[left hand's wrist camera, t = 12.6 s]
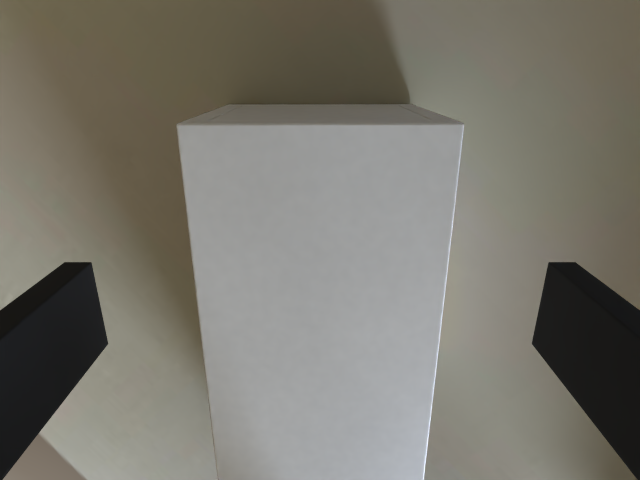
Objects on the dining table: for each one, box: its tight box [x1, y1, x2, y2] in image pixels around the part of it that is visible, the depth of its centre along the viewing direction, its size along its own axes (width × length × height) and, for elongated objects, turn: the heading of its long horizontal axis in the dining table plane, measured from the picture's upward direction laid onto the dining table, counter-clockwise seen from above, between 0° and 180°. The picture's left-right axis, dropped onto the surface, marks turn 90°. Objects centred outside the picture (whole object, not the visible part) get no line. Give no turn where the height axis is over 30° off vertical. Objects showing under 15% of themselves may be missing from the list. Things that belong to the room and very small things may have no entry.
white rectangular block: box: [176, 104, 464, 480], centre depth 26 cm, size 21×12×10 cm, turn 0°
